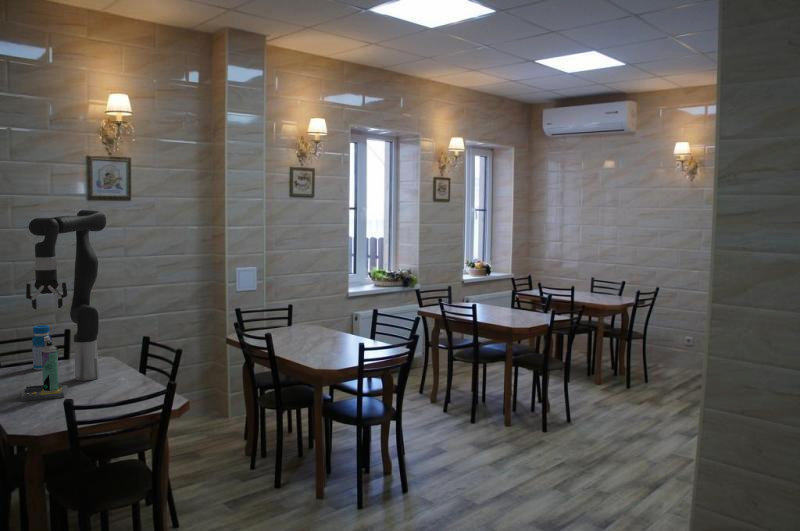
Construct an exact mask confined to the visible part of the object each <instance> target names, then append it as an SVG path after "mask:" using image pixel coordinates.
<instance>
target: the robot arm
mask: <svg viewBox="0 0 800 531" xmlns="http://www.w3.org/2000/svg"><path fill="white" fill-rule="evenodd" d="M106 225H107V217H106V215H105V214H104V213H103V212H102V211H98V210H91V209H90V210H88V209H81V210H79V211H78V212H77V214H76V215H60V216H54V217H53V216H52V217H35V218H33V219H32V220H31V221H30V222H29V224H28V230H29V232H30V233H31V234H32V235H33V236H38V237H44V239H43V241H39V242H36V243H35V244H34V257H35V258H34V273H35V274H34V275H35V283H30V282H28V283H27V284H26V287H25V288H26V292H25V294H26V295H25V298H26V299H28V300H31V308H32V309H33V310H37V309H38V302H37V297H38V296H39V295H40V294H42V295H45V294H49V295H50V294H54V296H55V297H57V298H58V299H57V305H58V306H57V307H58V309H61V308H62V307H63V306H64V305H63V299H64V298H67V296H68V288H67V281H63V282H58V271H57V270H58V269H57V267H58V266H57V259H56V245H57V242H58V241H57V240H58V236H59V235H61V234H67V233H73V232H75V240H76V242H75V245H76V246H75V260H74V261H75V262H74V274H73V275H74V280H73V292H72V294H73V295H72V300H71V305H70V312H69V313H70V314H69V316H70V319H71V320H70V321H71V322H72V323H74V324H76V325H77V327H76V329H77V330H76V331H77V332H76V333H75V334H74V335H73V351H74V352H73V353H74V377H75V378H74V379H75V380H76V381H84V382H86V381H92V380H97V379H98V378H99V375H100V373H99V355H98V334H99V327H100V326H99V322H100V321H99V320H100V319H99V312H98V310H97V308H96V307H94V306H93V305H91V301H90V300H91V292H92V289H93V287H94V285H95V283H96V281H97V276H98V271H99V270H98V269H99V260H98V257H97V255H96V253H95V251H94V249H93V247H92V245H91V243H90V238H89V237H90V235H89V233H90V232H101V231H102V230H104V229H105V227H106ZM58 287H59V288H60V289H62V294H61V293H60V291H59V290H57V288H58ZM33 288H35V289H36V290H37V291H36V292H35V293H34V294H33V295H31V294H32V289H33Z"/></svg>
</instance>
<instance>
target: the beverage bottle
mask: <svg viewBox="0 0 800 531" xmlns="http://www.w3.org/2000/svg"><path fill="white" fill-rule="evenodd" d="M50 329H51V328H50V325H46V324H42V325H36V326H33V328H32V331H33V332H32V333H33V335H34V336H33V337H32V339H31V343H32V345H31V352H32V367H33V369H34V370H38V371H41V370H42V371H43V366H42V348H44V347H45V346H46V345H47V342H52V340H53V339H52V337H51V335H50V334H49V333H50V332H51V331H50Z"/></svg>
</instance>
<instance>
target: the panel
mask: <svg viewBox="0 0 800 531" xmlns="http://www.w3.org/2000/svg"><path fill="white" fill-rule="evenodd" d="M23 390H24V391H23V393H22V395H21V402H28V401H36V400H37V401H38V400H39V401H40V400H48V399H51V400H52V399H61V398H60V397H62V398H65V397H64V396H66V394H67V392H68V385H62V383H59V390H58V391H56V392H49V393H47V392H44V389H43V384H42V385H41V384H40V385H39V384H38V385H29V386H25V388H24V389H23Z"/></svg>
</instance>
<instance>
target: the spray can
mask: <svg viewBox="0 0 800 531" xmlns="http://www.w3.org/2000/svg"><path fill="white" fill-rule="evenodd" d="M58 357H59V356H58V347H57V346H55V345H54V344H53V343H52V341H51V342H47V345H46V346H45V347H44V348H42V366H43V369H42V382H43V384H42V385H43V389H44V392H47V393H49V392H56V391H58V390H59V384H60V383H59V382H60V381H59V380H60V379H59V359H58Z"/></svg>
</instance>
